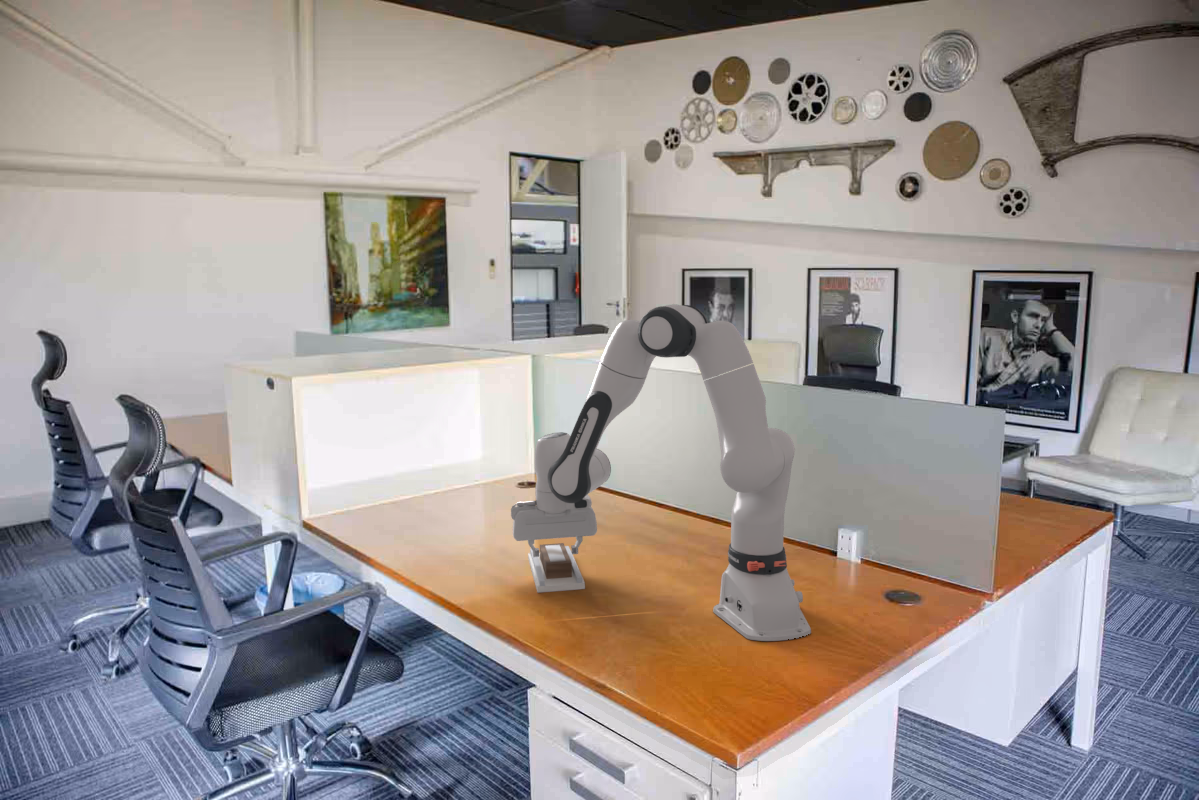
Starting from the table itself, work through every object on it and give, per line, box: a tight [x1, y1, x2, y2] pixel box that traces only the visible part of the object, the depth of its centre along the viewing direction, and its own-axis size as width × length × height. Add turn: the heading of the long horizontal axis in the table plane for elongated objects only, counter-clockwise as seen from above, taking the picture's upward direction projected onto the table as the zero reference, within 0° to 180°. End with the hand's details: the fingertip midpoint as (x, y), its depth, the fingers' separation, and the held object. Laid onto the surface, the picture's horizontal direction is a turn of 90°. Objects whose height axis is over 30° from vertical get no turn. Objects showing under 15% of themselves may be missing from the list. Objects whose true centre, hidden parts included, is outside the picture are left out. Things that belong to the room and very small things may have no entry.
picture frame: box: [539, 542, 572, 579], centre depth 198 cm, size 14×6×4 cm, turn 10°
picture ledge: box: [527, 545, 586, 594], centre depth 199 cm, size 22×11×3 cm, turn 10°
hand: (555, 554), depth 198 cm, fingers open, 8 cm apart
